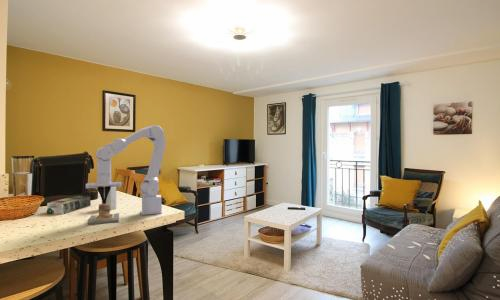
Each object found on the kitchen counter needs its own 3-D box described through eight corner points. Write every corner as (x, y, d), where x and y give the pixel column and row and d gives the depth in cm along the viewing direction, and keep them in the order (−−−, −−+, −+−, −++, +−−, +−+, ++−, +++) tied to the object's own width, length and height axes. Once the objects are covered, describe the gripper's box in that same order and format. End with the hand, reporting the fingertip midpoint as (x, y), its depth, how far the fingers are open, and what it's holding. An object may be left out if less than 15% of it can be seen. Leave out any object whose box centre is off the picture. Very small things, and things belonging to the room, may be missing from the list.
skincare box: (116, 208, 152) (116, 186, 151) (110, 210, 148) (110, 187, 147) (107, 207, 154) (107, 185, 153) (101, 209, 149) (101, 186, 149)
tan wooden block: (110, 216, 133) (110, 203, 133) (109, 218, 129) (109, 205, 129) (99, 216, 131) (99, 204, 131) (98, 219, 127) (98, 206, 127)
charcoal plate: (119, 215, 138) (119, 212, 138) (118, 222, 127) (118, 218, 127) (90, 217, 133) (90, 214, 133) (88, 224, 122) (87, 221, 122)
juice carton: (62, 215, 138) (62, 202, 138) (44, 214, 139) (44, 202, 139) (91, 206, 158) (91, 195, 157) (75, 205, 159) (75, 194, 159)
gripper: (121, 172, 136) (121, 200, 137) (86, 173, 130) (87, 202, 131) (121, 173, 130) (121, 203, 130) (85, 174, 124) (85, 205, 124)
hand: (104, 203), depth 130 cm, fingers closed
